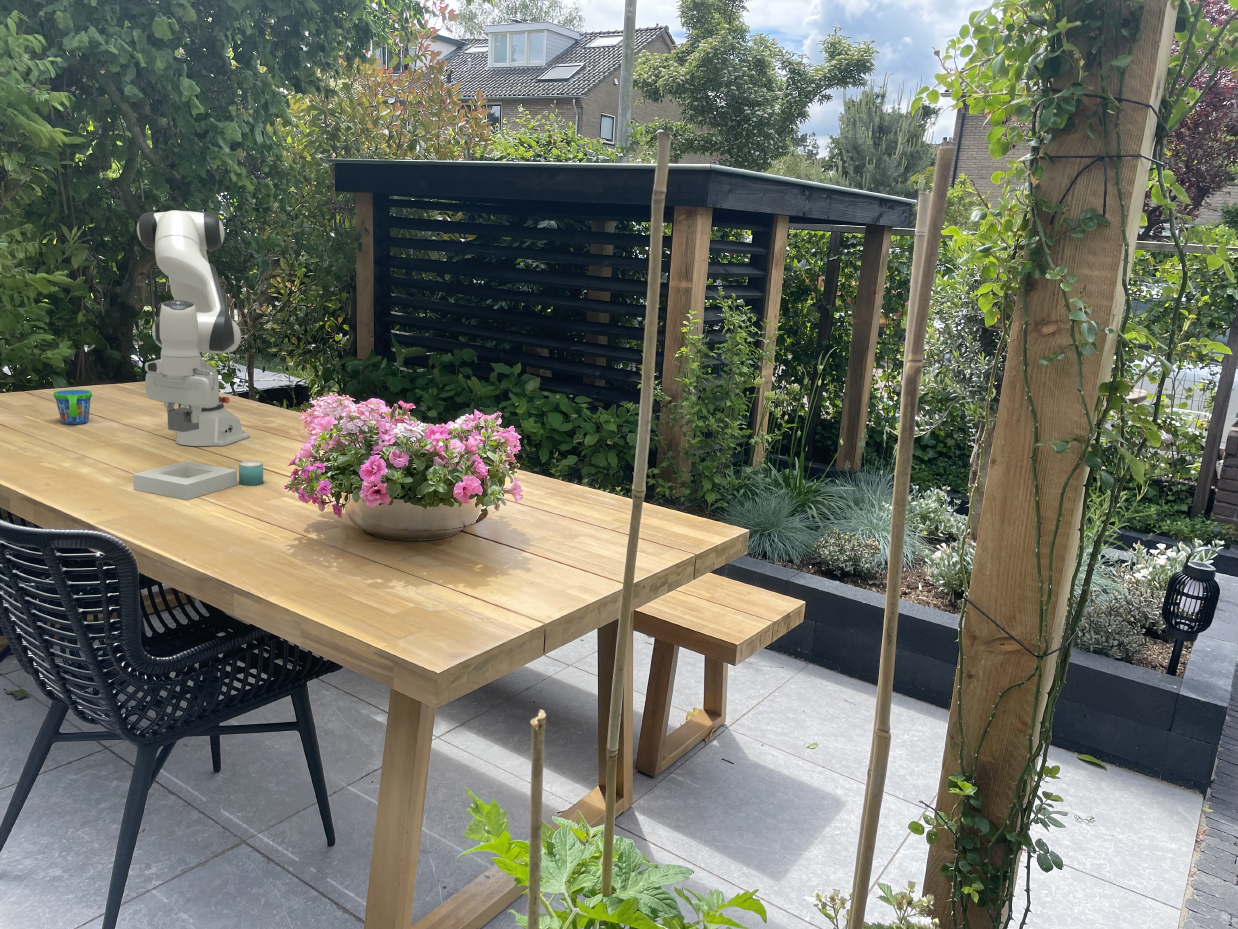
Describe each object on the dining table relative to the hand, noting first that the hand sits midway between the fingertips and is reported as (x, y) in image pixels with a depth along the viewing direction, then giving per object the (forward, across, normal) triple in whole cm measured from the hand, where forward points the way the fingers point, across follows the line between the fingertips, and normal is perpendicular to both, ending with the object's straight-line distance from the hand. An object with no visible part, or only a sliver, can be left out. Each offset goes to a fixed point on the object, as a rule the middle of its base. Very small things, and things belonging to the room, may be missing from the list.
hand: (183, 421), depth 225 cm
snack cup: (+18, +83, -37) cm, 93 cm away
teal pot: (+18, -10, -12) cm, 24 cm away
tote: (+17, 0, 0) cm, 17 cm away
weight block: (+2, 0, 0) cm, 2 cm away
